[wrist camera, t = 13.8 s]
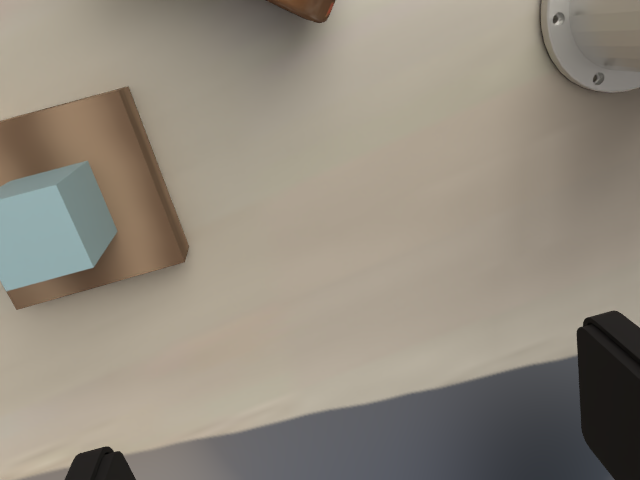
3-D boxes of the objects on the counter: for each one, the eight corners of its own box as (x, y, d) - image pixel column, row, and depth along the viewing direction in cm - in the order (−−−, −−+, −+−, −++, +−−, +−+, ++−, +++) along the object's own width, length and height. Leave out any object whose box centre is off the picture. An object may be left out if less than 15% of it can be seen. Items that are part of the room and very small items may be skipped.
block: (87, 160, 33) (55, 184, 27) (117, 231, 35) (93, 267, 29) (10, 181, 32) (-38, 209, 27) (44, 251, 34) (6, 291, 29)
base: (128, 86, 34) (118, 90, 31) (188, 246, 39) (184, 262, 36) (-50, 134, 34) (-76, 142, 31) (32, 290, 38) (16, 309, 36)
